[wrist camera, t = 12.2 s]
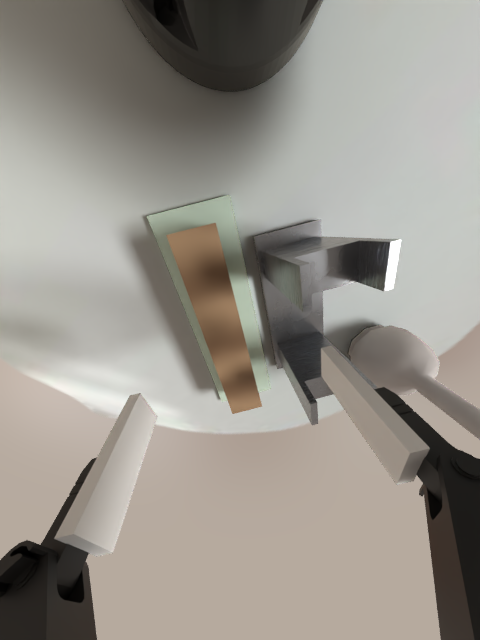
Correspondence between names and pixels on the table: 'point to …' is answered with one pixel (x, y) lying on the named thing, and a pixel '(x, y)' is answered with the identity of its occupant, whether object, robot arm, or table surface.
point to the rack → (314, 295)
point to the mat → (230, 242)
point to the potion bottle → (409, 370)
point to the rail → (216, 311)
